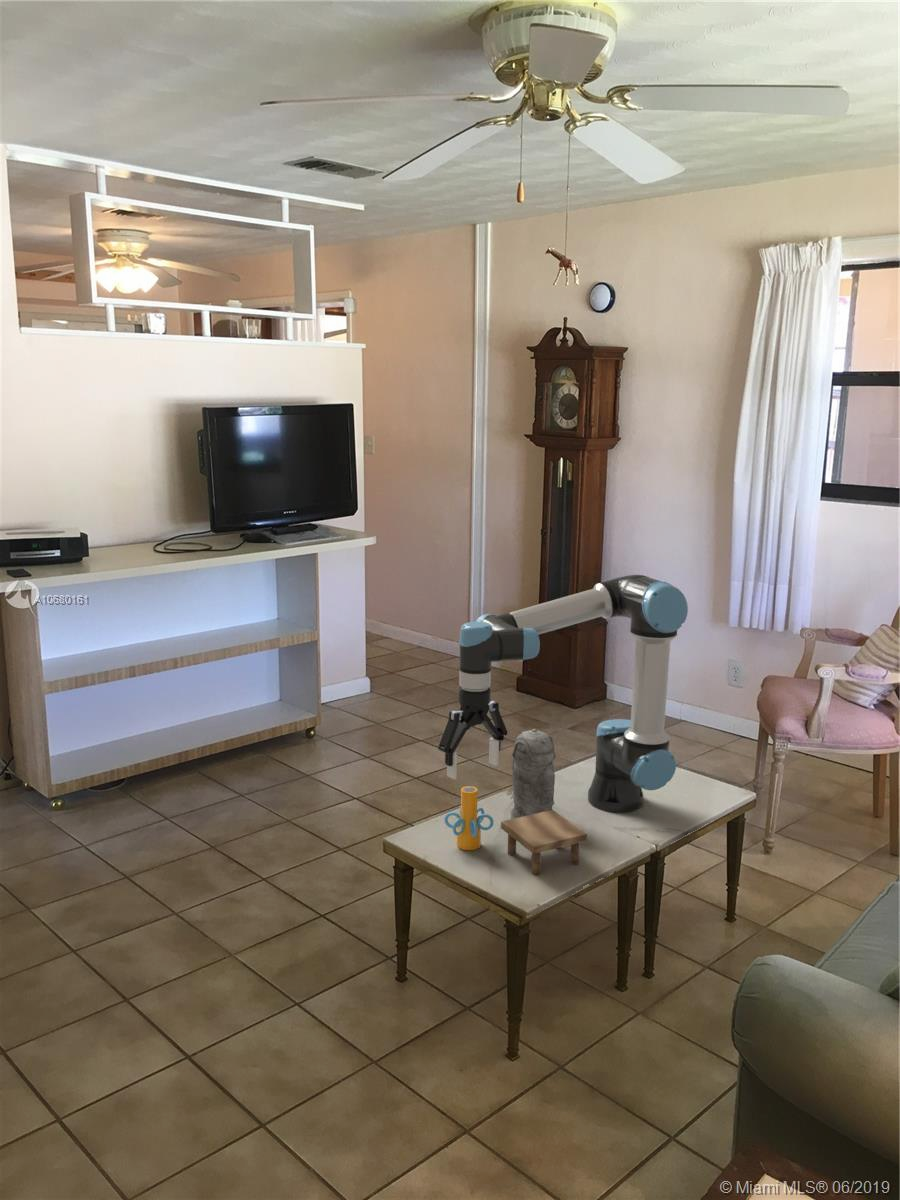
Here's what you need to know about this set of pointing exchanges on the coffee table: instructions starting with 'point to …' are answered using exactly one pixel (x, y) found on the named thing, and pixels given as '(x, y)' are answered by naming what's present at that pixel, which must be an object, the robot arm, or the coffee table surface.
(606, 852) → the coffee table surface
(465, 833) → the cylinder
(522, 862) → the coffee table surface
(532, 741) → the figurine
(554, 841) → the small wooden table
